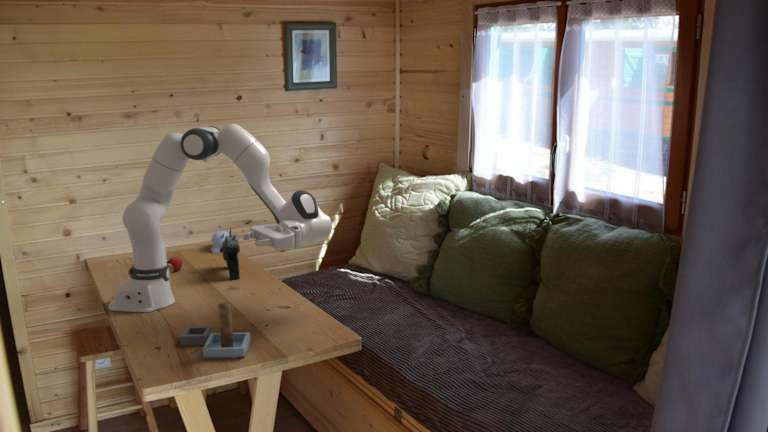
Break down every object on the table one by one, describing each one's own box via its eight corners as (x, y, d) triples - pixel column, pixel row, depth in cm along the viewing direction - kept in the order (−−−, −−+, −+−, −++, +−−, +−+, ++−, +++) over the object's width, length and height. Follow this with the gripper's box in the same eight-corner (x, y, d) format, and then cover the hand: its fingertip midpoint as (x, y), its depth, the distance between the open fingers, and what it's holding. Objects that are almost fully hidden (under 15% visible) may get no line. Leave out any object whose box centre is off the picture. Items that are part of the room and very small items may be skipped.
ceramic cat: (242, 280, 278) (239, 231, 273) (225, 282, 276) (222, 232, 271) (238, 266, 296) (234, 219, 292) (222, 267, 294) (218, 221, 290)
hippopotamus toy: (232, 243, 330) (231, 224, 328) (237, 252, 316) (236, 231, 314) (208, 246, 326) (207, 226, 324) (212, 255, 313) (211, 234, 311)
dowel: (220, 350, 213) (217, 306, 209) (222, 345, 216) (219, 302, 213) (232, 350, 213) (229, 306, 209) (234, 345, 216) (231, 302, 213)
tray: (203, 358, 209) (202, 349, 208) (211, 342, 220) (211, 333, 219) (244, 357, 209) (243, 348, 208) (250, 341, 220) (250, 332, 220)
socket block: (181, 345, 218) (180, 336, 217) (187, 335, 226) (186, 326, 225) (207, 344, 218) (206, 335, 217) (212, 334, 226) (211, 325, 225)
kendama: (144, 284, 279) (187, 269, 289) (139, 269, 278) (182, 254, 288) (138, 282, 286) (180, 268, 296) (133, 268, 284) (176, 253, 295)
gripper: (272, 218, 242) (234, 224, 234) (302, 230, 226) (263, 237, 218) (273, 236, 243) (235, 242, 235) (303, 249, 227) (264, 257, 219)
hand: (249, 240), depth 226 cm, fingers open, 8 cm apart
